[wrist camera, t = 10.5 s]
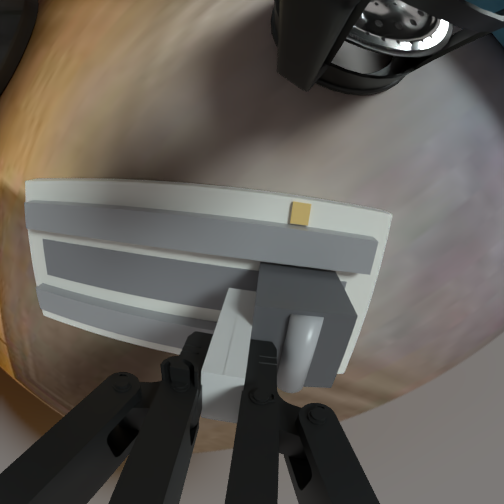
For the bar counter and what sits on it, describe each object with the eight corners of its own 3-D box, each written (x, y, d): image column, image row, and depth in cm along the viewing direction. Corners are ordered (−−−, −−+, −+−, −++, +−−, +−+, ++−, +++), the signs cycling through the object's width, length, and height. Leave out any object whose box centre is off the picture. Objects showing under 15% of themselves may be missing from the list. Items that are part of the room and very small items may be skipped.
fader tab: (251, 325, 17) (243, 390, 12) (260, 261, 16) (253, 314, 11) (319, 333, 17) (333, 397, 12) (335, 270, 16) (361, 324, 10)
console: (52, 307, 21) (37, 320, 18) (37, 178, 17) (16, 182, 15) (340, 361, 20) (346, 382, 18) (383, 209, 16) (399, 218, 14)
